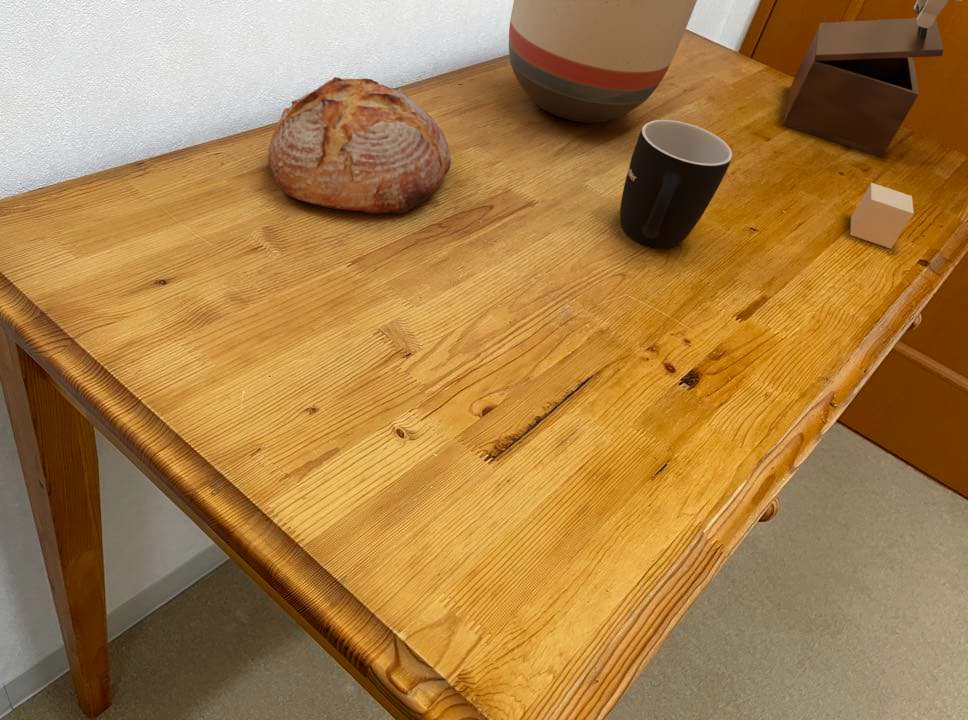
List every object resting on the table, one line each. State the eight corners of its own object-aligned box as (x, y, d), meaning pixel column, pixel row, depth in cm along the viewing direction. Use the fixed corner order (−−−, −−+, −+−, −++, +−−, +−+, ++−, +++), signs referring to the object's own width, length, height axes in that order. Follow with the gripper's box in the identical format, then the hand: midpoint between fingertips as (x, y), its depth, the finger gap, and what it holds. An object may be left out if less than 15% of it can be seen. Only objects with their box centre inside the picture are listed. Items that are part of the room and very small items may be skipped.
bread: (229, 178, 83) (225, 75, 76) (362, 127, 95) (369, 35, 89) (354, 246, 76) (362, 140, 70) (480, 182, 89) (496, 87, 82)
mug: (617, 199, 92) (650, 110, 85) (697, 227, 90) (738, 139, 83) (592, 250, 83) (626, 155, 76) (680, 282, 82) (723, 189, 75)
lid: (934, 22, 116) (942, -18, 113) (942, 56, 105) (951, 12, 102) (819, 28, 121) (823, -10, 118) (814, 61, 110) (819, 20, 107)
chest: (880, 117, 125) (913, 58, 119) (882, 157, 114) (919, 94, 108) (789, 88, 127) (817, 29, 121) (782, 125, 116) (813, 61, 110)
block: (890, 231, 98) (912, 195, 95) (891, 249, 95) (914, 213, 92) (850, 217, 99) (871, 182, 96) (850, 235, 95) (871, 199, 92)
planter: (579, 163, 96) (644, -39, 82) (457, 87, 106) (497, -106, 91) (678, 130, 108) (751, -51, 94) (561, 65, 118) (611, -109, 103)
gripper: (1024, -80, 92) (952, 48, 102) (1001, -107, 107) (940, 7, 116) (965, -95, 93) (898, 33, 103) (950, -120, 108) (893, -6, 117)
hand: (920, 19), depth 110 cm, fingers closed on lid, 5 cm apart
